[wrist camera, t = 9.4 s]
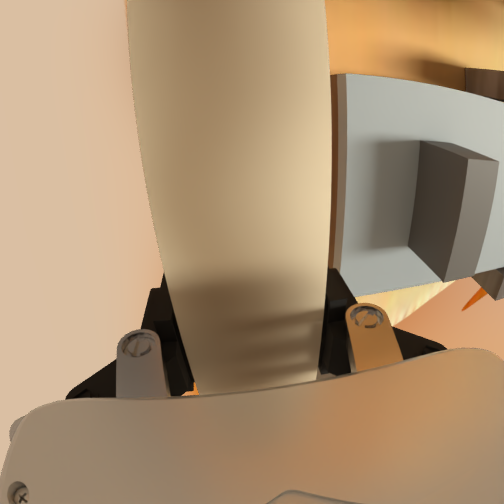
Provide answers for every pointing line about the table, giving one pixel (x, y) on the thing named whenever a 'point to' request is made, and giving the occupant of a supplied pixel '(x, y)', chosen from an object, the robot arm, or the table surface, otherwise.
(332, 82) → the brown wooden box
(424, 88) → the lid
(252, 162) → the smooth beige tapered object
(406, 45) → the table surface
